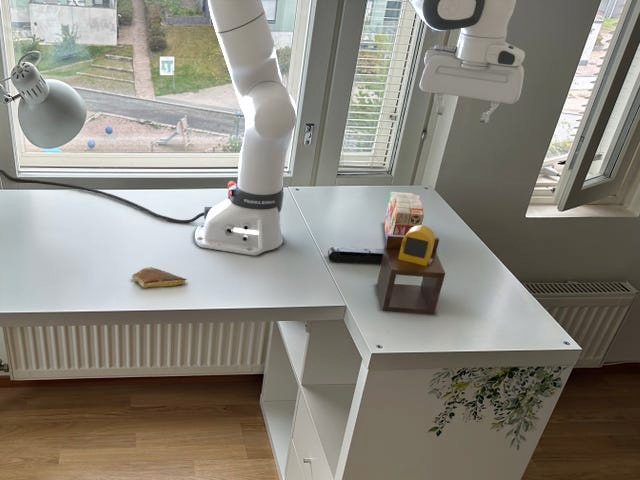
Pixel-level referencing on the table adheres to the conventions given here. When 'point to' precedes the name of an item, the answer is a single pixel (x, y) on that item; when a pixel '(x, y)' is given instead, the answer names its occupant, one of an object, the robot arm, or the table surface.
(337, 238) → the table surface
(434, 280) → the shelf
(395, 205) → the stack of blocks
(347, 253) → the tablet stand
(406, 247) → the tape measure
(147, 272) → the shard
